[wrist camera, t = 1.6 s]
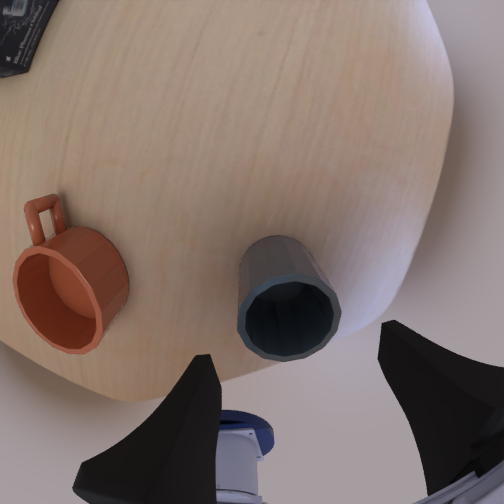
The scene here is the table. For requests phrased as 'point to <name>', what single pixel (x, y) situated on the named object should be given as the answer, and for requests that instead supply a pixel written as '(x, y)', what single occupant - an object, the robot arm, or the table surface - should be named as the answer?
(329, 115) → the table surface
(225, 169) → the table surface
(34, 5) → the box
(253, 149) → the table surface
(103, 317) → the mug
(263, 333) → the grey handleless cup
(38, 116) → the table surface
